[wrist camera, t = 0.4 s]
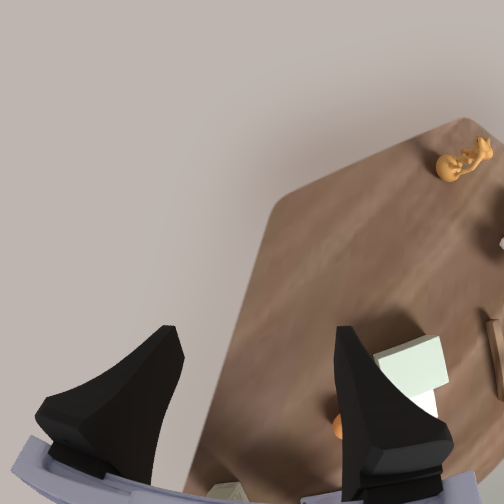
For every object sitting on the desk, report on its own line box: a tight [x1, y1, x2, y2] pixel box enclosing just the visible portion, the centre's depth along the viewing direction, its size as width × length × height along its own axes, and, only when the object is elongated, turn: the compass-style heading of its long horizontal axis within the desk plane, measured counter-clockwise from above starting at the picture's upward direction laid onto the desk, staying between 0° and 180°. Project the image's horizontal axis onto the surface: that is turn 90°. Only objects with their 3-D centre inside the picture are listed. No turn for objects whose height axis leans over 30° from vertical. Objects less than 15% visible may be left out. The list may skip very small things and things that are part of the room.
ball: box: [333, 414, 342, 439], centre depth 33 cm, size 4×4×4 cm
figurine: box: [436, 136, 493, 182], centre depth 32 cm, size 8×6×12 cm
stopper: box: [485, 319, 504, 402], centre depth 29 cm, size 12×1×2 cm, turn 15°
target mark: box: [409, 389, 438, 418], centre depth 33 cm, size 8×8×1 cm
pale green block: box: [373, 335, 449, 398], centre depth 32 cm, size 6×8×6 cm
